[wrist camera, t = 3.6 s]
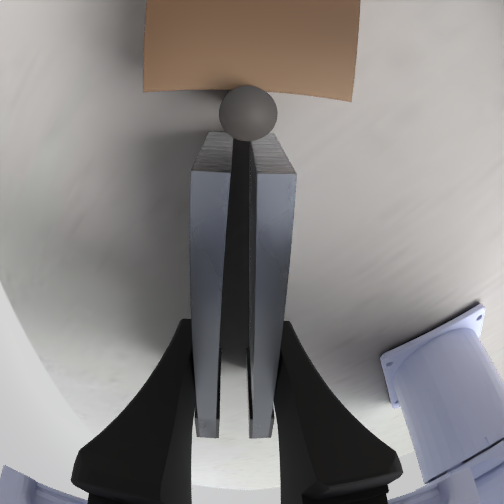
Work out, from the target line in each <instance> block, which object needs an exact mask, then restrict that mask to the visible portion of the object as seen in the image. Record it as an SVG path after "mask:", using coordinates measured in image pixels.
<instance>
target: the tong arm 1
mask: <svg viewBox="0 0 504 504" xmlns="http://www.w3.org/2000/svg"><path fill="white" fill-rule="evenodd" d="M232 149H233V137H232V136H230V135H229V134H228V133H226V132H210V131H209V133H208V135H207V137H206V140H205V142H204V144H203V146H202V148H201V150H200V152H199V154H198V157H197V159H196V161H195V163H194V165H193V167H192V170H191V188H190V290H191V321H192V342H193V360H194V375H195V389H196V405H195V425H196V434H197V437H207V438H219V421H220V376H221V348H219V337H220V318H221V300H222V284H223V268H224V253H225V239H226V226H227V213H228V200H229V188H230V176H231V163H232Z"/></svg>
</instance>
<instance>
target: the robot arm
mask: <svg viewBox="0 0 504 504" xmlns="http://www.w3.org/2000/svg"><path fill="white" fill-rule="evenodd" d="M484 314H485V307H484V306H483V305H482V304H479V305H477V306H475V307H474V308H472V309H470V310H469V311H467V312H465V313H463V314H462V315H460V316H458V317H456V318H455V319H453V320H451V321H449V322H447V323H445V324H443V325H442V326H440V327H438V328H436V329H434V330H432V331H430V332H428V333H426V334H424V335H422V336H420V337H418V338H416V339H414V340H412V341H410V342H407V343H405V344H403V345H401V346H399V347H397V348H394V349H392V350H390V351H388V352H386V353H384V354H383V355H382V356H381V357H380V361H381V365H382V369H383V372H384V376H385V380H386V384H387V388H388V392H389V397H390V401H391V405H392V408H398V407H400V406H401V409H402V412H403V415H404V418H405V421H406V424H407V427H408V430H409V433H410V436H411V439H412V443H413V446H414V449H415V452H416V455H417V459H418V463H419V466H420V470H421V473H422V477H423V481H424V483H425V484H427V483H429V484H427V485H426V486H423V487H422V488H419V489H417V490H416V491H414V492H412V493H409V494H406V495H403V496H400V497H397V498H394V499H390V500H387V497H386V493H388V491H389V490H388V485H387V484H389V483H391V482H392V481H394V480H396V479H398V478H399V477H400V476H401V475H402V473H403V470H402V466H401V463H400V460H399V458H398V456H397V453H396V451H394V450H393V449H392V448H390V447H389V446H388V445H386V444H385V443H384V442H382V441H381V440H380V439H378V438H377V437H376V436H375V435H374V434H372V433H371V432H370V431H369V430H368V429H367V428H365V427H364V426H363V425H362V424H361V423H360V422H359V421H358V420H357V419H356V418H355V417H354V416H353V415H352V414H351V413H350V412H349V411H348V410H347V409H346V408H345V407H344V405H343V404H342V403H341V402H340V401H339V400H338V398H337V397H336V396H335V395H334V394H333V392H332V391H331V390H330V389H329V387H328V386H327V384H326V383H325V382H324V380H323V379H322V377H321V376H320V375H319V373H318V372H317V370H316V369H315V367H314V365H313V364H312V362H311V360H310V359H309V357H308V356H307V354H306V352H305V350H304V349H303V347H302V345H301V343H300V341H299V339H298V337H297V335H296V333H295V331H294V329H293V327H292V324H291V323H290V322H289V321H284V322H283V331H282V339H281V347H280V356H279V364H278V371H277V379H276V387H275V394H274V406H275V412H276V418H277V424H278V434H279V452H280V478H281V504H504V382H503V380H502V378H501V376H500V374H499V373H498V371H497V369H496V367H495V365H494V363H493V362H492V360H491V358H490V356H489V355H488V353H487V351H486V349H485V348H484V346H483V344H482V343H481V341H480V335H481V330H482V325H483V320H484ZM195 404H196V389H195V375H194V360H193V342H192V321H191V319H182V320H181V321H180V323H179V325H178V328H177V330H176V332H175V334H174V336H173V338H172V340H171V342H170V344H169V346H168V348H167V349H166V351H165V353H164V355H163V356H162V358H161V360H160V362H159V363H158V365H157V366H156V368H155V369H154V371H153V372H152V374H151V375H150V377H149V379H148V380H147V381H146V383H145V384H144V386H143V387H142V388H141V390H140V391H139V392H138V393H137V395H136V396H135V397H134V398H133V400H132V401H131V402H130V403H129V404H128V405H127V407H126V408H125V409H124V410H123V411H122V412H121V413H120V414H119V415H118V417H117V418H116V419H114V420H113V421H112V422H111V423H110V424H109V425H108V426H107V427H106V428H105V429H104V430H103V431H102V432H101V433H100V434H99V435H97V436H96V437H95V438H94V439H93V440H91V441H90V442H89V443H88V444H86V445H85V446H84V447H83V448H81V449H80V450H79V452H78V455H77V457H76V460H75V463H74V467H73V472H72V478H71V482H72V483H73V484H74V485H75V486H77V487H79V488H81V489H82V490H84V491H86V492H88V493H89V497H88V500H85V499H81V498H78V497H75V496H72V495H69V494H66V493H63V492H61V491H58V490H55V489H53V488H50V487H48V486H45V485H43V484H40V483H38V482H36V481H35V480H33V479H32V478H30V477H28V476H26V475H24V474H22V473H20V472H18V471H16V470H14V469H12V468H10V467H8V466H6V465H5V466H3V470H2V474H1V478H0V504H192V501H191V445H192V426H193V417H194V411H195Z"/></svg>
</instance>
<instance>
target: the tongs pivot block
mask: <svg viewBox="0 0 504 504" xmlns="http://www.w3.org/2000/svg"><path fill="white" fill-rule="evenodd" d="M359 15H360V0H147V4H146V17H145V34H144V61H143V92H154V91H171V90H229V91H228V93H227V94H226V96H225V98H224V99H223V101H222V103H221V105H220V109H219V119H220V122H221V125H222V127H223V128H224V130H225V131H226V132H227V133H228V134H229V135H230V136H232V137H233V138H235V139H238V140H242V141H255V140H258V139H261V138H263V137H264V136H266V135H267V134H268V133H269V132H270V131H271V130H272V129H273V127H274V125H275V123H276V120H277V107H276V104H275V102H274V100H273V99H272V97H271V96H270V95H269V94H268V93H267V92H279V93H290V94H299V95H308V96H316V97H323V98H330V99H337V100H343V101H349V102H351V101H352V93H353V84H354V75H355V65H356V55H357V44H358V31H359ZM265 91H266V92H265Z"/></svg>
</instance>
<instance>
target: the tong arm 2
mask: <svg viewBox="0 0 504 504" xmlns="http://www.w3.org/2000/svg"><path fill="white" fill-rule="evenodd" d="M296 178H297V174H296V172H295V170H294V168H293V167H292V165H291V163H290V161H289V159H288V158H287V156H286V154H285V152H284V150H283V149H282V147H281V145H280V143H279V141H278V140H277V138H276V136H275V134H267V135H266V136H264V137H263V138H261V139H258V140H255V141H250V232H249V348H247V349H246V352H247V393H248V417H249V438H270V437H271V435H272V429H273V424H274V409H273V401H274V394H275V387H276V379H277V371H278V364H279V356H280V347H281V339H282V331H283V322H284V313H285V304H286V294H287V284H288V274H289V264H290V253H291V242H292V230H293V218H294V206H295V192H296Z"/></svg>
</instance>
